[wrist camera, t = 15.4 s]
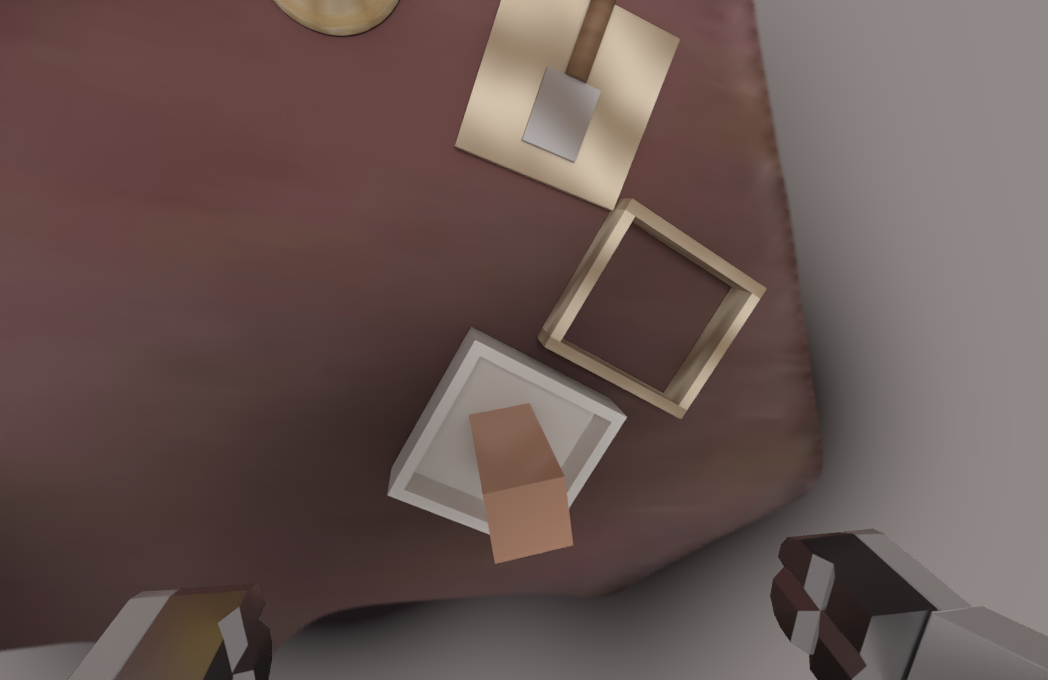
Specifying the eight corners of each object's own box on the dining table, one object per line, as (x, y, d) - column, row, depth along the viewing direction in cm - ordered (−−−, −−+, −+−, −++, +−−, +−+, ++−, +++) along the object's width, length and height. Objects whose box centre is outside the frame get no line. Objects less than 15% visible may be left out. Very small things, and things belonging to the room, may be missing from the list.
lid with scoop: (609, 210, 34) (620, 210, 31) (454, 147, 31) (456, 143, 29) (675, 39, 31) (692, 28, 29) (515, -45, 29) (521, -64, 26)
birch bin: (665, 405, 38) (681, 419, 36) (536, 336, 35) (544, 346, 33) (745, 283, 37) (766, 288, 34) (617, 198, 33) (631, 198, 31)
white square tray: (530, 524, 39) (539, 554, 36) (391, 468, 36) (387, 495, 32) (609, 397, 37) (627, 417, 34) (471, 326, 34) (475, 340, 31)
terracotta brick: (478, 468, 36) (495, 563, 27) (468, 414, 35) (482, 494, 25) (536, 456, 37) (573, 545, 27) (529, 402, 35) (564, 476, 26)
